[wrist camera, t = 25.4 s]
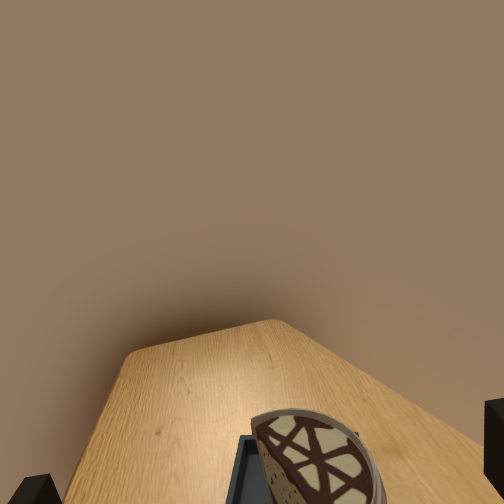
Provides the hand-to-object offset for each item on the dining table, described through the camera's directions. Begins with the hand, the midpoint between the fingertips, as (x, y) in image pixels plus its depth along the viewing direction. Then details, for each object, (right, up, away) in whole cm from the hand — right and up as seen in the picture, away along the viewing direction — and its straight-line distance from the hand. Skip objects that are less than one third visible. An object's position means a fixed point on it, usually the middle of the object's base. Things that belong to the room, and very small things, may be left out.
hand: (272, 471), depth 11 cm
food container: (+6, -17, +17) cm, 24 cm away
